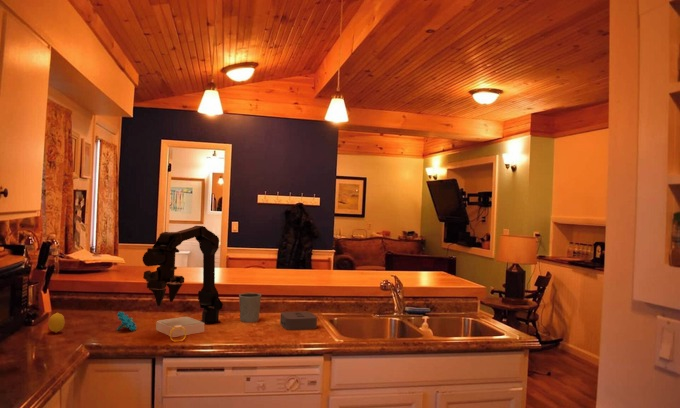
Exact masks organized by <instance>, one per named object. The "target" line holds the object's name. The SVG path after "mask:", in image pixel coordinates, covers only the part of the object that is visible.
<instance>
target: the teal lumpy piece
mask: <svg viewBox="0 0 680 408" xmlns="http://www.w3.org/2000/svg"><path fill="white" fill-rule="evenodd" d="M116 316H118V317H117V319H118V320H119V321H121V322H120V323H121V324H120V325H119V326H118V327H117V328H116V330H117V331H120V330H121V329H122V328H126V329H129V330H130V331H134V332H135V331H136V330H137V325H136V324H137V323H136V322H134V320H133V319H134V318H133V317H130V316H129V315H128V314H125V312H124V311H118V313H117V314H116Z"/></svg>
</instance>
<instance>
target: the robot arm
mask: <svg viewBox="0 0 680 408" xmlns="http://www.w3.org/2000/svg"><path fill="white" fill-rule="evenodd" d="M193 238H194V239H195V240H196V242H198V244H199V250H200V251H201V253H202V256H203V258H202V262H203V263H202V264H203V265H202V270H203V271H202V274H203V275H202V280H203V281H202V282H203V283H202V287H201V289H200V290H198V294H197V295H198V297H197V301H198V302H199V303H198V304H199V308H200V309H202V313H201V320H200V321H201V322H203V323H205V324H206V325H213V324H218V323H221V321H220V320H219V319H220V318H219V317H220V316H219V315H220V310H221V309H223V307H224V303H223V302H222V301H221V299H220V296H219V290H218V289H217V287H216V285H215V284H216V283H215V282H216V281H215V278H216V276H215V271H216V270H215V269H216V267H215V266H216V264H215V263H216V261H215V260H216V254H217V251H218V250H219V244H220V237H218V235H216V234H215V233H214V232H213V231H211V230H209V229H208V228H207V227H206V226H205V225H194V226H192V227H189V228H185V229H181V230H179V231H165V232H161V233H159V236H158V237H157V239H156V240H155V242H154V244H153V246H152V248H151V247H148V248H147V249H146V251H145V252H144V254H143V256H142V263H143V265H144V266H146V267H153V266H155V267H156V266H157V267H156V270H155V271H151V270H145V271H143V277H142V279H144V280H145V282H146V289H148V291H151V292H152V293H153V296H154V299H155V303H156V306H157V307H161V305H162V303H163V300H164V297H165V294H166V290H167V287H168V296H169V297H168V299H169V300H168V301H169V302H170V303H173V301H174V299H175V298H176V296H177V294H178V292H179V290H180V289H181V287H182V286H183V284H185V277H184V276H183V275H175V270H177V268H178V266H176V253H180V250H179V249H178V248H177V247H178V246H180V245H181V244H182V243H183V242H184V241H189V240H190V239H193Z"/></svg>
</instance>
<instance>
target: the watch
mask: <svg viewBox="0 0 680 408" xmlns="http://www.w3.org/2000/svg"><path fill="white" fill-rule="evenodd" d="M180 328H182V329H184V328H183V327H182V326H181V325H176V326H175V327H174V328H173V329H172V330H171V331H170V336H169V338H170V340H171V341H172V342H173V343H176V342H183V341H184V340H185V339H186V338H187V335H186V330H185V329H184V331H185V335H183V338H181V339H173V337H171V333H172V331H173V330H174V329H180Z"/></svg>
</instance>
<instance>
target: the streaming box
mask: <svg viewBox="0 0 680 408" xmlns="http://www.w3.org/2000/svg"><path fill="white" fill-rule="evenodd" d="M279 323H280V325H281V326H282V327H283V328H284V329H285V330H288V331H299V330H300V331H302V330H304V331H305V330H316V329H317V326H318V325H317V324H318V316H317V315H316V314H314V313H312V312H311V311H305V310H303V311H283V312H280V322H279Z"/></svg>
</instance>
